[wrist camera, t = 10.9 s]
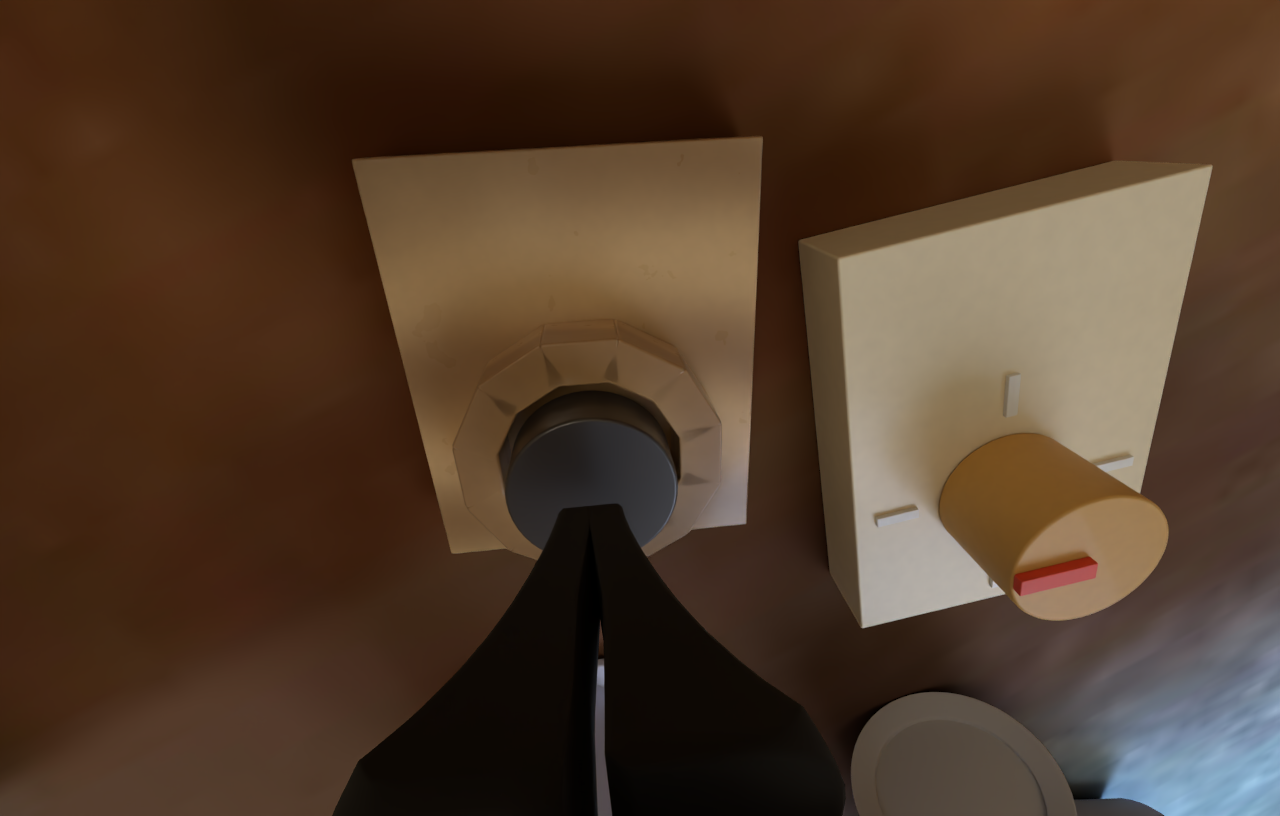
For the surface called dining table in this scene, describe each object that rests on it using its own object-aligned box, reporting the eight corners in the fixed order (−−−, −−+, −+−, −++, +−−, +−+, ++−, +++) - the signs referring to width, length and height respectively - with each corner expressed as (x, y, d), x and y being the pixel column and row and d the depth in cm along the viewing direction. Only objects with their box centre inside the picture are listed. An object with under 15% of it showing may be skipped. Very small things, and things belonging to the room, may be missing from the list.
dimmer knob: (1076, 416, 17) (1197, 484, 14) (1060, 526, 19) (1163, 608, 16) (938, 451, 17) (1025, 526, 14) (936, 556, 19) (1013, 645, 16)
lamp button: (671, 516, 17) (680, 554, 15) (524, 530, 16) (518, 571, 15) (666, 382, 15) (676, 410, 13) (500, 396, 15) (490, 427, 13)
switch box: (731, 488, 21) (762, 560, 17) (463, 514, 20) (438, 594, 17) (741, 136, 16) (788, 134, 12) (379, 156, 15) (317, 161, 11)
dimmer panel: (1061, 516, 23) (1128, 569, 20) (829, 573, 23) (863, 633, 20) (1114, 159, 17) (1221, 163, 14) (797, 239, 17) (839, 259, 14)
